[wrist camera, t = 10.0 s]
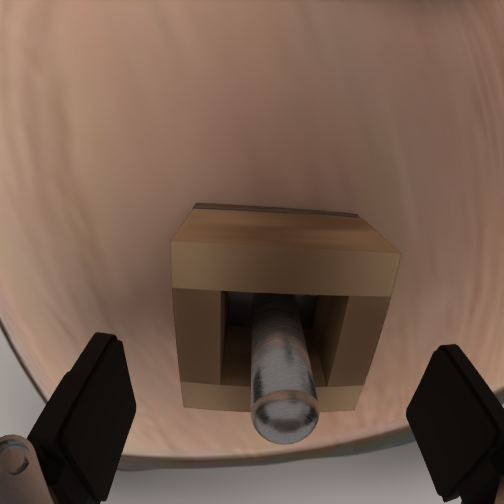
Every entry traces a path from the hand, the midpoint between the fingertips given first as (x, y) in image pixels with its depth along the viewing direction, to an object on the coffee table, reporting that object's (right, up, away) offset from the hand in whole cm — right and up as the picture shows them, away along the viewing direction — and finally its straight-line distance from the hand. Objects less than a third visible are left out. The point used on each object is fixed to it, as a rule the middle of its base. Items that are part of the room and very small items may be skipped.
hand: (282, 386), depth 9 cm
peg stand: (0, +2, +6) cm, 7 cm away
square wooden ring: (0, +2, +6) cm, 6 cm away
